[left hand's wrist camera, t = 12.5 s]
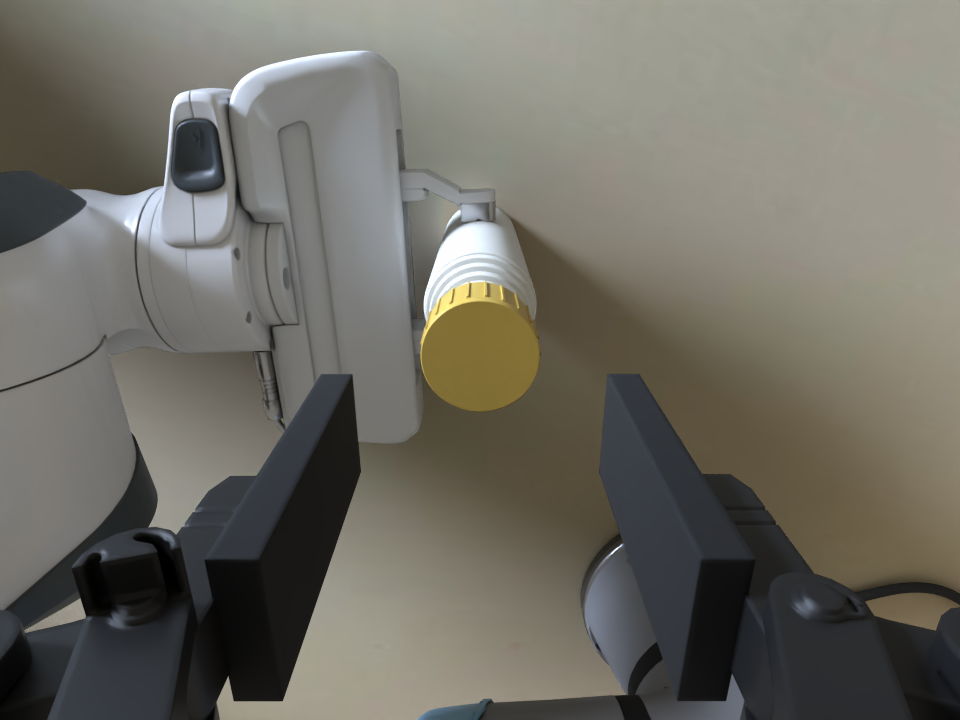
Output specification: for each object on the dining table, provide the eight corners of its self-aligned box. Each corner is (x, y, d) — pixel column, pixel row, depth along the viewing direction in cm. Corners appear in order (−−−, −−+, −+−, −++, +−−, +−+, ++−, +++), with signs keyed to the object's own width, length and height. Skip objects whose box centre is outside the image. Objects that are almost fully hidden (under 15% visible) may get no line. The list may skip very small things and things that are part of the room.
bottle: (505, 282, 39) (529, 429, 20) (437, 266, 38) (397, 400, 20) (524, 213, 37) (568, 303, 19) (453, 195, 37) (425, 269, 18)
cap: (519, 394, 22) (523, 424, 20) (414, 371, 22) (407, 399, 19) (548, 294, 21) (556, 315, 18) (437, 268, 20) (432, 286, 18)
